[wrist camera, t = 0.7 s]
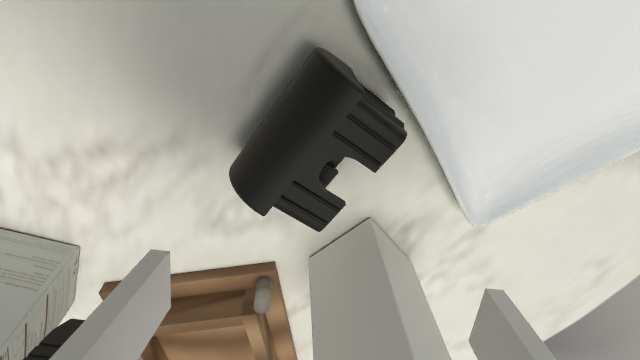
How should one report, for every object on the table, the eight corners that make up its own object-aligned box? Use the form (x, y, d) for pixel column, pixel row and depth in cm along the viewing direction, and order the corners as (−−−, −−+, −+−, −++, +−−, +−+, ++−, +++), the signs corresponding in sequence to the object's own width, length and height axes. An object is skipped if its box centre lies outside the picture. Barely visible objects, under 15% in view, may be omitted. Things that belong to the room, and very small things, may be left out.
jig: (104, 282, 33) (81, 320, 29) (274, 261, 33) (272, 297, 29) (161, 381, 41) (148, 421, 37) (298, 364, 41) (298, 402, 37)
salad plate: (459, 212, 32) (476, 236, 29) (338, -12, 23) (344, -11, 20) (713, 82, 27) (765, 94, 24) (696, -271, 18) (776, -321, 15)
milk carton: (352, 296, 36) (401, 564, 20) (307, 257, 33) (320, 534, 17) (411, 260, 34) (520, 524, 18) (369, 215, 31) (453, 482, 15)
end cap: (313, 37, 24) (320, 56, 18) (390, 98, 26) (418, 134, 20) (235, 148, 27) (219, 194, 21) (309, 193, 30) (313, 246, 24)
